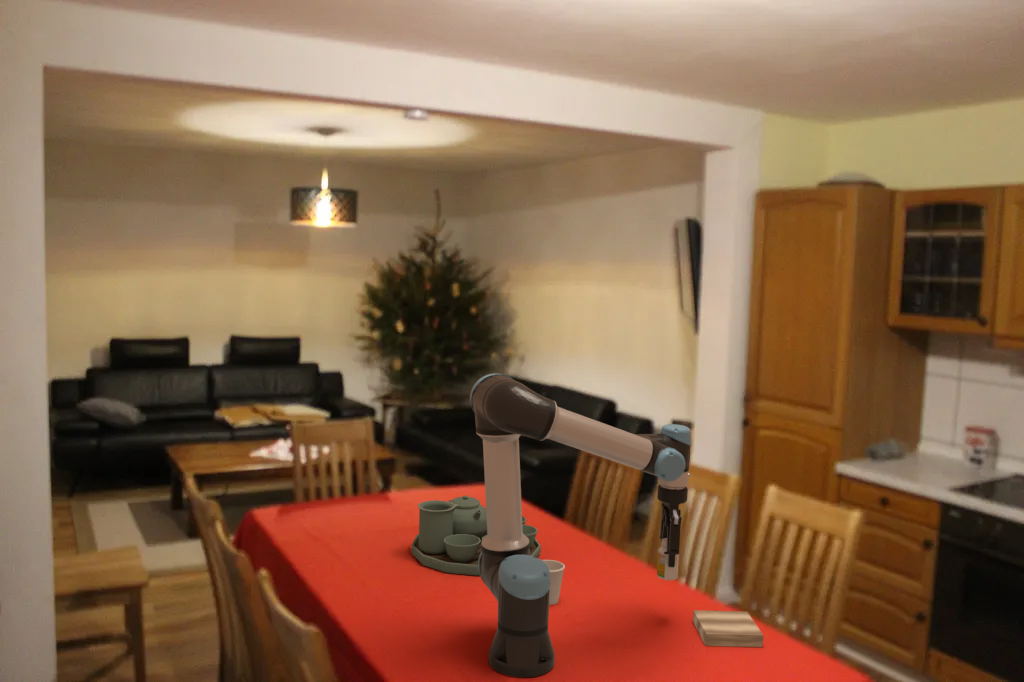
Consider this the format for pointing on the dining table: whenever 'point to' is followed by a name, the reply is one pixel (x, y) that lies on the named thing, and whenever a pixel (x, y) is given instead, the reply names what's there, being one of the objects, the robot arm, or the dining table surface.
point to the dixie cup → (555, 579)
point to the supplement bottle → (662, 561)
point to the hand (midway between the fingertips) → (667, 573)
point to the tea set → (457, 535)
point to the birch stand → (727, 628)
